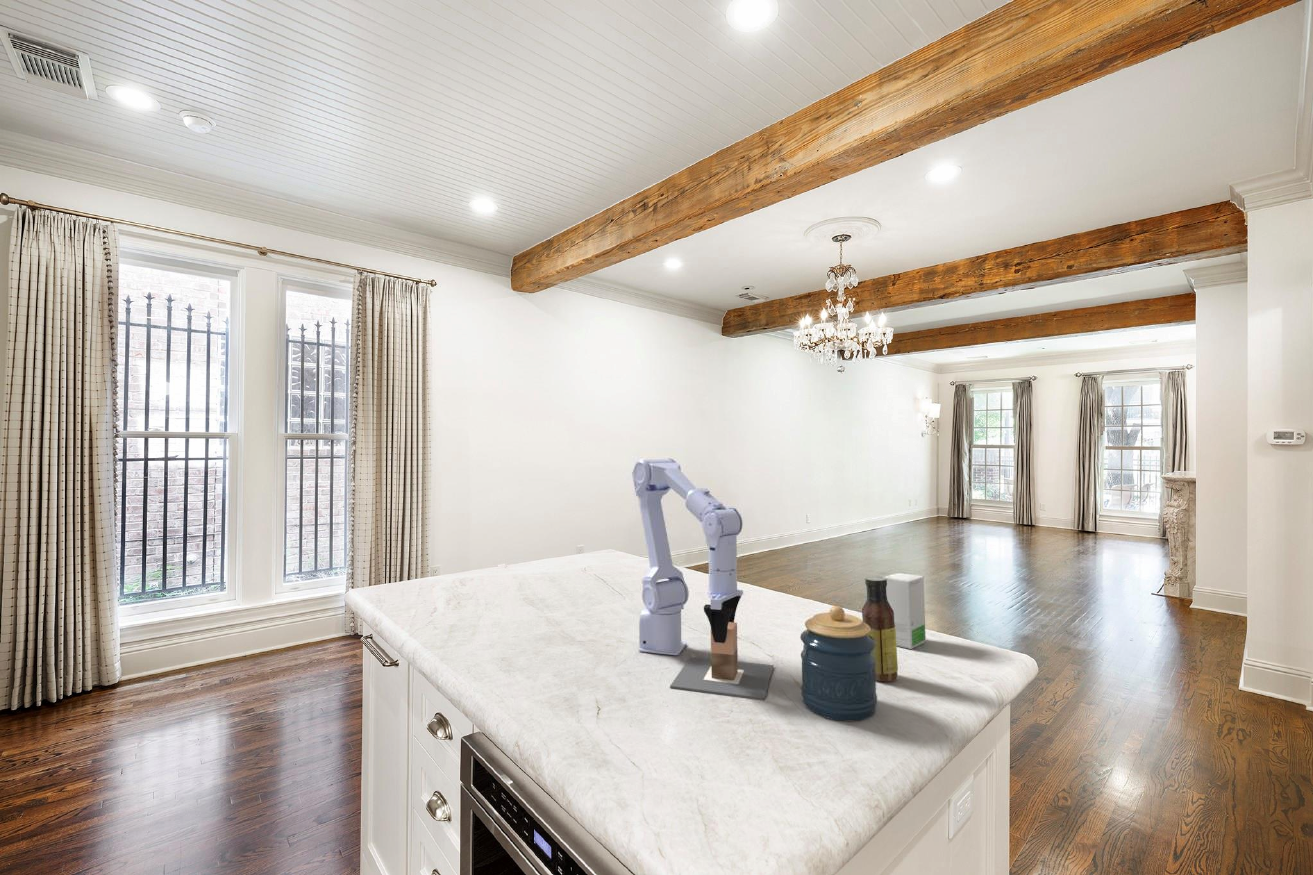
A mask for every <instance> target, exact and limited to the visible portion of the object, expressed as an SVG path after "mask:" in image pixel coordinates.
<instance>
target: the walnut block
mask: <svg viewBox="0 0 1313 875" xmlns="http://www.w3.org/2000/svg"><path fill="white" fill-rule="evenodd" d="M738 649H739V648H737V649H736V651H735V653H734V655H729V654H719V653H711V652H710V654H711V655H710V658H711V669H712V678H717V679H725V680H734V679H735V677H736V675H737V672H738V661H739V660H738V657H739V656H738V655H739V654H738Z"/></svg>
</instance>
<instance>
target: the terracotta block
mask: <svg viewBox="0 0 1313 875" xmlns="http://www.w3.org/2000/svg"><path fill="white" fill-rule="evenodd" d="M736 649H738V622H735V621H734V622H728V629H727V637H726V641H725V643H718V642H714V639H713V635H712V630H711V629H710V654H711V653H719V654H729V655H734V653H735V651H736Z"/></svg>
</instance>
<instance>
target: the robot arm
mask: <svg viewBox="0 0 1313 875" xmlns="http://www.w3.org/2000/svg"><path fill="white" fill-rule="evenodd" d="M631 475H632V480H633V487H634V493H635V496H636V497H637V498H638V505H639V510H640V511H639V512H640V515H641V520H642V521H641V522H642V528H643V534H644V540H645V545H646V549H647V550H646V551H647V555H648V556H647V557H648V562H649V568H650V569H649V570H648V572H647V573H646V574H645V575H644V577H643V578H642V579H641V581H642V582H641V583H642V592H641V593H642V594H641V597H642V598H641V599H642V603H643V605H644V608H643V609H642V610H641V612H640V616H639V623H638V624H639V626H638V628H639V629H638V630H639V631H638V632H639V636H638V637H639V648H638V652H642V653H643V652H644V653H652V654H662V655H671V656H679V655H680V653H681V652H682V651H683V649H684V648H685V647H686V646H687V641H683V640H682V610H684V607H685V605H686V604H687V602H688V599H689V596H690V594H689V593H690V591H689V587H688V585H687V583H686V581H685V579H684V575H683V571H681V570H680V569H678V568H677V567H676V566H674V564H673V561H672V554H671V550H670V542H669V539H668V533H667V528H666V522H665V517H664V511H663V505H662V500H663V497H664V496H665V495H667V494H668V493H669V492H670V490H671V489H672V490H673V491H674V492H675V493H676V494H678V495H679V496H680V497H681V498H682V499H684V500H685V508H686V509H687V510H688V511H689V512H690V513H691V514H692V515H693V517H695V518H696V520H698V521H699V522H700V523H701V528H702V531H703V535H704V536H705V543H706V546H707V547H708V589H707V594H708V597H709V599H710V604H708V603H707V604H705V605H704V606H703V613H704V614H705V615H706V617H707V619H708V622H709V626H710V631H711V630H712V635H713V639H714V642H718V643H725V641H726V637H727V629H728V622H735V619H736V618H735V617H736V613H737V608H738V605H739V603H740V601H741V598H742V596H743V595H744V590H743V589H738V553H737V552H738V551H737V549H738V547H737V546H738V545H737V543H738V542H737V540H738V539H737V536H738V535H739V534H740V533H741V532H742V529H743V518H742V515H741V513H740V512H739V511H738V510H737V508H735V507H733V506H732V507H727V506H724V505H723V503H722V501H719V500H718V499H717V498H716V497H714V496H713V494H711V493H710V491H711V490H709V489H708V488H703V487H699V488H697V487H696V486H695V485H694V484H693V483H692V482H691V480H689V478H688V477H687V476H686V475H685V474H684V473H683V472H682V468H681V464H680V463H678V462H677V461H676V460H675V459H673V458H671V457H670V458H667V459H665V458H663V459H662V458H660V459H644V458H641V459H638V460H637V461H636V462H635V464H634V467H633V468H632V472H631ZM659 580H662V581H659Z"/></svg>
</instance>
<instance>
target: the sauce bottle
mask: <svg viewBox="0 0 1313 875" xmlns="http://www.w3.org/2000/svg"><path fill="white" fill-rule="evenodd" d="M884 577H885V576H884ZM884 577H883V576H880V575H879V576H878V575H870V576H866V577H865V578H864V579H865V580H864V582H865V586H866V601H865V603H864V605H863V606H862V608H861V615H862V616H861V617H862V619H861V620H862V622H864V623H866V624H867V625H869V626H870V628H871V632H870V633H869V635H870V636H871V637H872V638H873V639H874V640H875V641H876V647H875V648H874V649H873V656H874V658H875V659H876V682H881V683H893V682H895V681H896V680H897V679H898V671H899V667H898V666H899V663H898V650H897V649H898V648H897V647H898V646H896V630H895V623H894V611H893V609H892V608H891V606H890V604H889V602H888V601H887V594H886V586H887V579H886V578H884Z"/></svg>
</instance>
